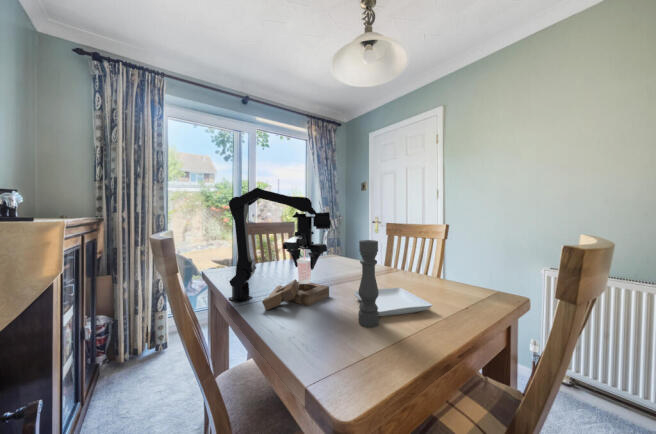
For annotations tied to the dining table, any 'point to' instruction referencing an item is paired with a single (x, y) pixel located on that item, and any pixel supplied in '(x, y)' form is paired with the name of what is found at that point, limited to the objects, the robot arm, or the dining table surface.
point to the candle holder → (368, 284)
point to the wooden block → (281, 295)
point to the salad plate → (397, 302)
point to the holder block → (310, 293)
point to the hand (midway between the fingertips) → (304, 268)
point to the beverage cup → (304, 270)
